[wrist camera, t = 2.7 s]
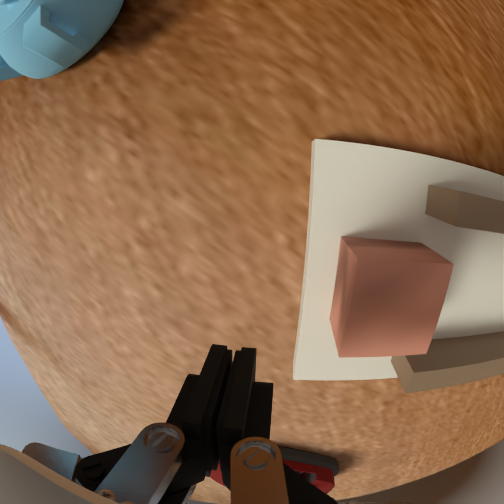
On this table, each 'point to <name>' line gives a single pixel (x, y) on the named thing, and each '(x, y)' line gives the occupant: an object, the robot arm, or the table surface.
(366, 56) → the table surface
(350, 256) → the block
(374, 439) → the table surface
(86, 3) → the teapot
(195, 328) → the table surface
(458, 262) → the board with rails
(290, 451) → the bumper car
